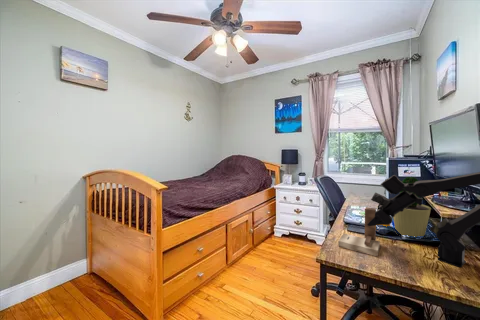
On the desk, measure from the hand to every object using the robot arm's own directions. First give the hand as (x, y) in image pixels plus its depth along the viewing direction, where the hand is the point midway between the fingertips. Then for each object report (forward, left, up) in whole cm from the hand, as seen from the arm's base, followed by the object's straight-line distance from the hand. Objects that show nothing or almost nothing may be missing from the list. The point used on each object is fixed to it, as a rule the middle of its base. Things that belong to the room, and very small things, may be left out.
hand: (369, 222), depth 97 cm
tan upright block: (-2, +4, -9) cm, 10 cm away
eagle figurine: (-19, -28, -10) cm, 35 cm away
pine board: (+1, +8, -10) cm, 13 cm away
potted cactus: (-7, -25, -10) cm, 28 cm away
